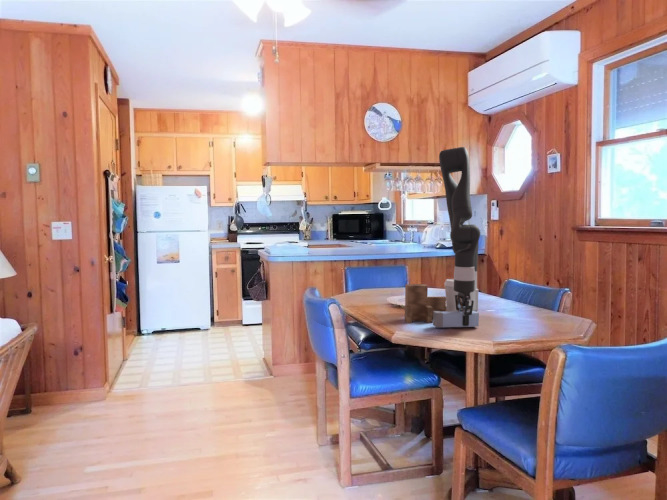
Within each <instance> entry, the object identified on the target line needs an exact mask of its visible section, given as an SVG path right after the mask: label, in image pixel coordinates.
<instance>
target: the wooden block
mask: <svg viewBox="0 0 667 500" xmlns="http://www.w3.org/2000/svg"><path fill="white" fill-rule="evenodd" d="M404 287H405V288H404V289H405V290H404V292H405V293H404V295H405V296H404V298H405V299H404V304H405V305H404V322H405V323H406V324H412V323H413V322H417V321H418V322H420V321H421V322H423V321H424V322H425V323H427V324H430V323H431V324H433V311H440V312H447V307H446V296H428V288H429V287H428V285H427V284H426V283H424V284H423V283H422V284H419V283H418V284H417V283H414V284H413V283H412V284H411V283H410V284H407V283H406V284H405V285H404Z"/></svg>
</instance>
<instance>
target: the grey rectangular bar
mask: <svg viewBox="0 0 667 500" xmlns="http://www.w3.org/2000/svg"><path fill="white" fill-rule="evenodd" d="M467 312H468V311H467ZM479 319H480V313H479V312H477V311H472V315H470V316H469V325H468V326H463V313H462V311H448V312H447V311H446V312H440V311H433V320H432V325H433V327H435V328H468V327H469V328H470V327H471V328H472V327H479V324H480V323H479V322H480V321H479Z"/></svg>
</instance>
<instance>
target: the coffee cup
mask: <svg viewBox="0 0 667 500" xmlns="http://www.w3.org/2000/svg"><path fill="white" fill-rule="evenodd" d="M443 286H444V288H445V289H444V290H445V291H444V292H445V297H446V312H448V311H458V310H456V303H455V295H458V292H456V291H454V278H447V279H445V281H444V283H443Z"/></svg>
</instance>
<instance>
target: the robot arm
mask: <svg viewBox="0 0 667 500" xmlns="http://www.w3.org/2000/svg"><path fill="white" fill-rule="evenodd" d="M438 161H439V167H440V172H441V176H442V180H443V184H444V191H445V198H446V207H447V213H448V217H449V223H450V234H449V237H450V240H451V245H452V246H451V247H452V251H453V254H454V270H453V279H454V291H456V292H458V295H455V303H456V310H458V311H462V313H463V326H468V325H469V316H470V315H472V311H476V312H477V311H479V288H478V260H479V259H478V257H479V241H480V238H481V230H480V227H479V226H478V225H476V224H465V223H466V222H467V221H469V220H470V219H472V217H473V210H472V203H471V202H472V201H471V191H470V190H471V188H470V187H471V185H470V184H471V177H470V176H471V174H470V173H471V171H470V169H471V168H470V157H469V152H468V149H467V148H466V147H465V146H459V147H454V148H453V147H452V148H448V149H443V150H441V151H440V152H439V155H438ZM458 172H461V174H460V178H459V181H458V182H456V181H455V179H454V178H453V176H452V173H458ZM467 311H468V312H467Z"/></svg>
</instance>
